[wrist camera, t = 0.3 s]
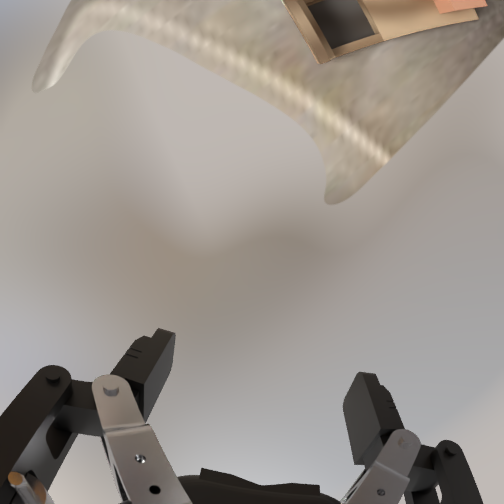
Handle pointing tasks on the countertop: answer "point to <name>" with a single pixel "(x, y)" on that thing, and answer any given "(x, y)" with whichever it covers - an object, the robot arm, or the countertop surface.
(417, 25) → the board
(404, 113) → the countertop surface
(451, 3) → the block
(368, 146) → the countertop surface
